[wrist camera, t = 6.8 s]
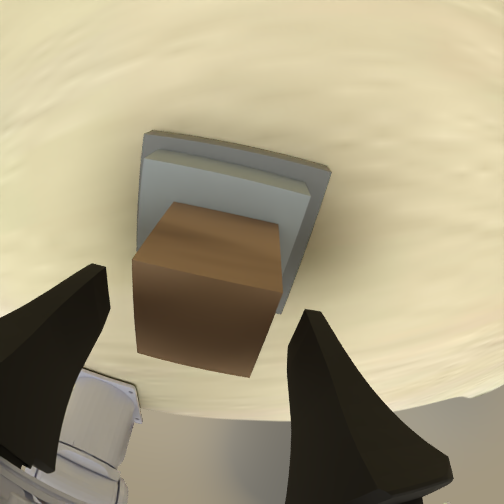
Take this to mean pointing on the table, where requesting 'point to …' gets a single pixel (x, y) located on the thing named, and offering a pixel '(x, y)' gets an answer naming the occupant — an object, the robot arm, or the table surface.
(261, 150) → the gray square platform
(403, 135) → the table surface
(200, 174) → the slate top slab
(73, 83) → the table surface
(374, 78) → the table surface
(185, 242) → the walnut cube
